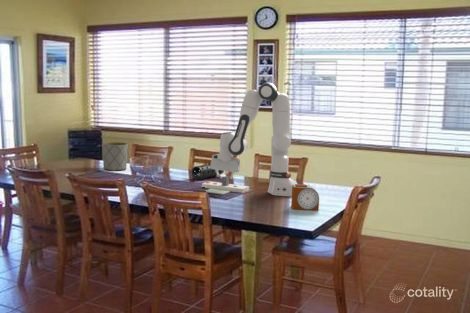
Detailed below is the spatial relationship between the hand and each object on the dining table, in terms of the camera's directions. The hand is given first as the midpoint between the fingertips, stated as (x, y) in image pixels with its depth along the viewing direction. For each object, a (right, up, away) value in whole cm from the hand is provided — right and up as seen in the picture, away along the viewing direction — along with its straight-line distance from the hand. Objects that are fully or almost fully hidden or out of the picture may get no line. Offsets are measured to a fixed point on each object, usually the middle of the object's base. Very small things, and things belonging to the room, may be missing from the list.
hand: (224, 177), depth 350 cm
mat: (-5, -9, -10) cm, 14 cm away
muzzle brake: (-13, -2, +39) cm, 41 cm away
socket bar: (0, -8, +1) cm, 8 cm away
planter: (-85, +4, +59) cm, 104 cm away
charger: (0, -8, +1) cm, 8 cm away
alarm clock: (+47, -16, -46) cm, 67 cm away
